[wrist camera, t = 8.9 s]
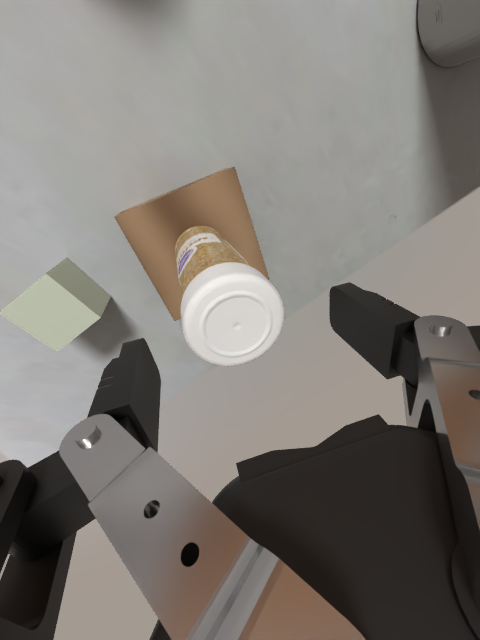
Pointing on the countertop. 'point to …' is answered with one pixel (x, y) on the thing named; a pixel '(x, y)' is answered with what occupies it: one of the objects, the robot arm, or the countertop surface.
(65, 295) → the sage cube
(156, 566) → the robot arm
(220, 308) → the sprinkles bottle
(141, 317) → the countertop surface
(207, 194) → the walnut block
